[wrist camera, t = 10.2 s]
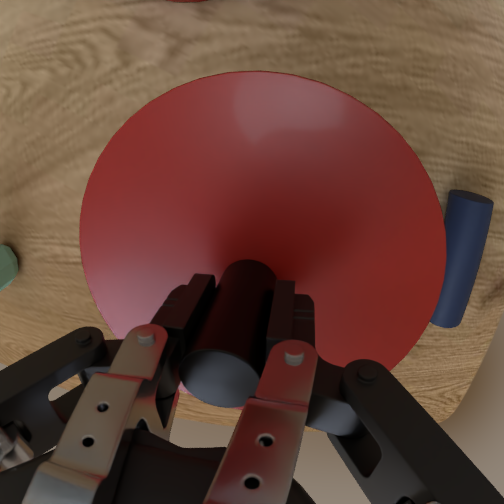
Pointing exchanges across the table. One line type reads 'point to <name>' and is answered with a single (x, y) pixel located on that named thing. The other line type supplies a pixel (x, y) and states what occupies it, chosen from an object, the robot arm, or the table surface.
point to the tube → (461, 253)
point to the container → (7, 266)
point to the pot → (186, 0)
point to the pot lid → (264, 224)
